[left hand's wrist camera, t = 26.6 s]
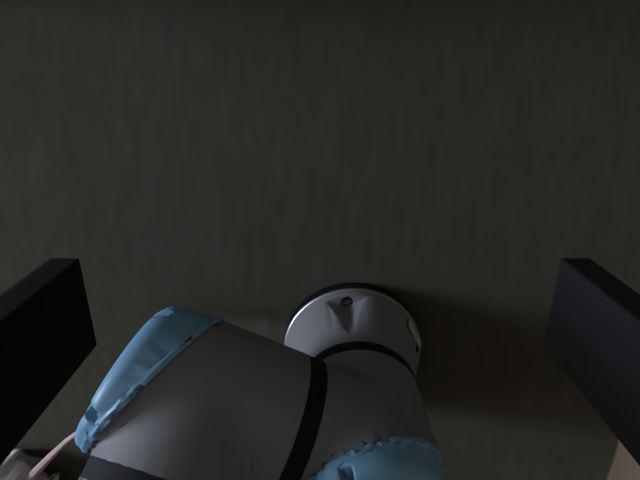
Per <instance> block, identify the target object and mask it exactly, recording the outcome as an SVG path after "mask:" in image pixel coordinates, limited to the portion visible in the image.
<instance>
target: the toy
mask: <svg viewBox="0 0 640 480" xmlns="http://www.w3.org/2000/svg"><path fill="white" fill-rule="evenodd" d="M75 433H76V432H74V433H73V434H71V435H70V436H69V437H67V438H66V439H65V440H64V441H62V442H61V443H60V444H59V445H58V446H57V447H56V448H54V449H53V450H52V451H51V452H50V453H49V454H48V455H47V456H46V457H45V458H44V459H43V460H41V461H40V462H39V463H38V464H37V465H36V466H34V465H32V464H31V463H29V462H28V461H26V460H24V459H22V458H17V456H18V455H19V453H20V452H21V450H22V448H18V449H13V450H12V452H11V453H10V455H9V456H8V457H7V458H6V459H5V460H4V462H3V463H2V464H1V466H0V480H58V479H59V476H60V473H56V474H52V475H51V476H49V475H48V474H47V473H45V472H43V470H44V469H45V467H46V466H47V465H48V464H49V463H50V462H51V461H52V460H53V459H54V457H55V456H56V455H57V454H58V453H59V452H60V451H61V450H62V449H63V448H64V447H65V446H66V445H67V444H68V443H69V442H70V441H71V440H72V439H73V438H74V437H75Z"/></svg>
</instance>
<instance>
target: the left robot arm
mask: <svg viewBox="0 0 640 480" xmlns="http://www.w3.org/2000/svg"><path fill="white" fill-rule="evenodd" d="M96 345H97V344H96V339H95V334H94V329H93V324H92V320H91V315H90V310H89V305H88V301H87V296H86V291H85V286H84V282H83V277H82V272H81V267H80V262H79V259H49V260H48V261H46V262H45V263H44V264H42V265H41V266H39V267H38V268H37V269H35V270H34V271H33V272H31V273H30V274H28V275H27V276H26V277H24V278H23V279H21V280H20V281H19V282H17V283H16V284H15V285H13V286H12V287H10V288H9V289H8V290H6V291H5V292H3V293H2V294H1V295H0V466H1V464H2V463H3V462H4V460H5V459H6V458H7V457H8V455H9V454H10V453H11V452H12V450H13V449H14V448H15V447H16V445H17V444H18V443H19V442H20V440H21V439H22V438H23V437H24V435H25V434H26V433H27V432H28V430H29V429H30V428H31V427H32V425H33V424H34V423H35V422H36V420H37V419H38V418H39V417H40V415H41V414H42V413H43V411H44V410H45V409H46V408H47V406H48V405H49V404H50V403H51V401H52V400H53V399H54V398H55V396H56V395H57V394H58V393H59V391H60V390H61V389H62V388H63V386H64V385H65V384H66V383H67V381H68V380H69V379H70V378H71V376H72V375H73V374H74V373H75V371H76V370H77V369H78V367H79V366H80V365H81V364H82V362H83V361H84V360H85V359H86V357H87V356H88V355H89V354H90V352H91V351H92V350H93V349H94V347H95V346H96ZM543 345H544V346H545V347H546V349H547V350H548V351H549V352H550V354H551V355H552V356H553V357H554V359H555V360H556V361H557V362H558V364H559V365H560V366H561V367H562V369H563V370H564V371H565V373H566V374H567V375H568V376H569V378H570V379H571V380H572V381H573V383H574V384H575V385H576V386H577V388H578V389H579V390H580V391H581V393H582V394H583V395H584V396H585V398H586V399H587V400H588V401H589V403H590V404H591V405H592V406H593V408H594V409H595V410H596V411H597V413H598V414H599V415H600V417H601V418H602V419H603V420H604V422H605V423H606V424H607V425H608V427H609V428H610V429H611V430H612V432H613V433H614V434H615V435H616V437H617V438H618V439H619V440H620V442H621V443H622V444H623V445H624V447H625V448H626V449H627V450H628V452H629V453H630V454H631V455H632V457H633V458H634V459H635V460H636V462H637V463H638V464H639V465H640V295H639V294H638V293H637V292H635V291H634V290H632V289H631V288H630V287H628V286H627V285H625V284H624V283H623V282H621V281H620V280H619V279H617V278H616V277H614V276H613V275H612V274H610V273H609V272H607V271H606V270H605V269H603V268H602V267H601V266H599V265H598V264H596V263H595V262H594V261H592V260H591V259H561V262H560V267H559V272H558V277H557V282H556V286H555V291H554V296H553V301H552V305H551V310H550V315H549V320H548V324H547V329H546V334H545V339H544V344H543ZM420 350H421V340H420V336H419V332H418V329H417V326H416V323H415V321H414V318H413V316H412V314H411V313H410V311H409V309H408V308H407V307H406V306H405V304H404V303H403V302H402V301H401V300H400V299H398V298H397V297H396V296H395V295H393V294H391V293H390V292H388V291H386V290H384V289H382V288H379V287H376V286H373V285H369V284H363V283H343V284H337V285H333V286H330V287H327V288H324V289H322V290H319V291H318V292H316V293H314V294H312V295H311V296H310V297H308V298H307V299H306V300H304V301H303V302H302V303H301V304H300V305H299V306H298V308H297V309H296V310H295V312H294V313H293V315H292V316H291V319H290V321H289V323H288V326H287V330H286V335H285V344H284V345H283V344H280V343H278V342H275V341H273V340H270V339H268V338H265V337H262V336H260V335H257V334H255V333H252V332H250V331H247V330H245V329H242V328H240V327H237V326H235V325H232V324H230V323H228V322H225V321H224V319H223V318H221V317H211V316H208V315H205V314H202V313H199V312H196V311H193V310H190V309H187V308H184V307H170V308H166V309H164V310H162V311H160V312H158V313H157V314H156V315H154V316H153V317H152V318H151V319H150V320H149V321H148V322H147V323H146V324H145V325H144V326H143V327H142V328H141V329H140V331H139V332H138V333H137V334H136V335H135V337H134V338H133V339H132V340H131V342H130V343H129V344H128V346H127V347H126V348H125V350H124V351H123V352H122V354H121V355H120V357H119V358H118V359H117V361H116V362H115V364H114V365H113V367H112V368H111V370H110V371H109V373H108V374H107V376H106V377H105V379H104V380H103V382H102V383H101V385H100V387H99V388H98V390H97V392H96V393H95V395H94V397H93V399H92V402H91V403H92V404H91V405H90V406H89V408H88V409H87V411H86V413H85V414H84V416H83V417H82V419H81V421H80V423H79V425H78V427H77V430H76V433H75V443H76V445H77V446H78V447H80V449H81V451H82V452H84V453H90V451H91V455H90V457H89V459H88V461H87V463H86V465H85V467H84V469H83V471H82V473H81V475H80V477H79V479H78V480H445V478H444V474H443V470H442V466H443V462H442V457H441V454H440V452H439V450H438V447H437V444H436V441H435V438H434V435H433V432H432V429H431V425H430V422H429V419H428V416H427V413H426V410H425V407H424V404H423V401H422V398H421V395H420V392H419V389H418V386H417V383H416V373H417V366H418V362H419V357H420Z"/></svg>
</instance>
